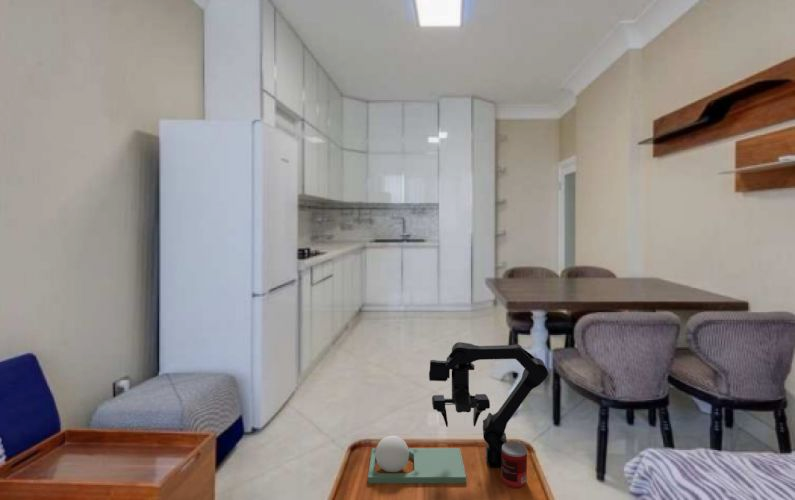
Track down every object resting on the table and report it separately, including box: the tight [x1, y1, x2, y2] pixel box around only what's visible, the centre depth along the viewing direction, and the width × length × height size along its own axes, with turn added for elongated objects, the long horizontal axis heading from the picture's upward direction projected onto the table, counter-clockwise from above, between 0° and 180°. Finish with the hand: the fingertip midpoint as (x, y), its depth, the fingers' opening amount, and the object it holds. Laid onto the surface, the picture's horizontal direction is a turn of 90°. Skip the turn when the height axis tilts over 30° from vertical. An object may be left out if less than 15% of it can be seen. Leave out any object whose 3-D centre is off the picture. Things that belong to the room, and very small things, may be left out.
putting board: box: [367, 447, 467, 484], centre depth 150 cm, size 31×17×2 cm, turn 89°
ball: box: [375, 435, 410, 473], centre depth 149 cm, size 11×11×11 cm
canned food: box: [500, 441, 528, 489], centre depth 142 cm, size 8×8×11 cm
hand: (460, 426), depth 153 cm, fingers open, 9 cm apart
